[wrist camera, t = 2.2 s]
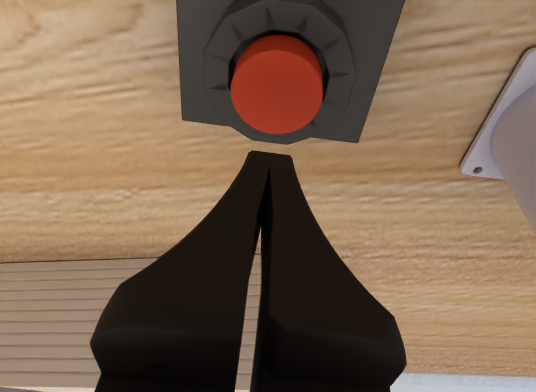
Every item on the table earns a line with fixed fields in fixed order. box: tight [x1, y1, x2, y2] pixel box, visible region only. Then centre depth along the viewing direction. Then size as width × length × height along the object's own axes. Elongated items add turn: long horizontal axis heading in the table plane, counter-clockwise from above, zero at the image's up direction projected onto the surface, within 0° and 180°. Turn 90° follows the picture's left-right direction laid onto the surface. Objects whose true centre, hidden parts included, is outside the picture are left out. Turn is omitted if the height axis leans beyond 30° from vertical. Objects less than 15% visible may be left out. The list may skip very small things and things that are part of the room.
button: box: [231, 34, 323, 134], centre depth 17 cm, size 4×4×2 cm
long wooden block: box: [0, 255, 261, 392], centre depth 33 cm, size 32×11×11 cm, turn 98°
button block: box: [176, 0, 405, 145], centre depth 19 cm, size 10×8×4 cm
